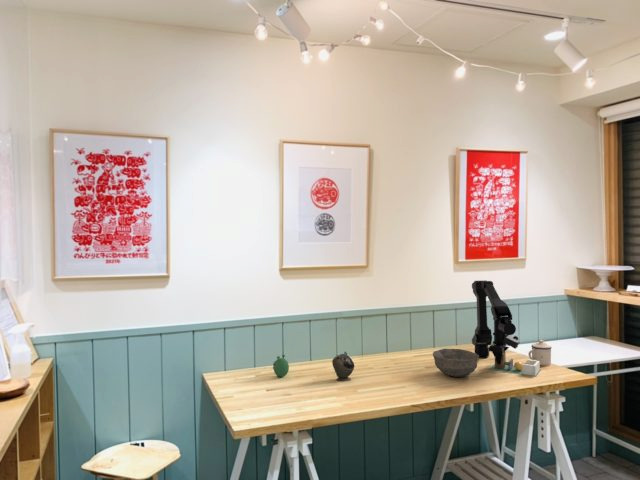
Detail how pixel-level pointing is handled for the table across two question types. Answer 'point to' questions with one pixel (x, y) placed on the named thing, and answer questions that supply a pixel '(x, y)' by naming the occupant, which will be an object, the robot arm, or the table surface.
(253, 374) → the table surface
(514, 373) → the pitch
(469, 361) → the bowl
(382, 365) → the table surface
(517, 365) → the ball
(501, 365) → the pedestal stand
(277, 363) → the alien toy
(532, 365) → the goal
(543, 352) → the teacup with lid
